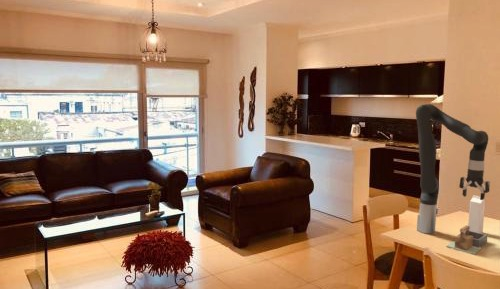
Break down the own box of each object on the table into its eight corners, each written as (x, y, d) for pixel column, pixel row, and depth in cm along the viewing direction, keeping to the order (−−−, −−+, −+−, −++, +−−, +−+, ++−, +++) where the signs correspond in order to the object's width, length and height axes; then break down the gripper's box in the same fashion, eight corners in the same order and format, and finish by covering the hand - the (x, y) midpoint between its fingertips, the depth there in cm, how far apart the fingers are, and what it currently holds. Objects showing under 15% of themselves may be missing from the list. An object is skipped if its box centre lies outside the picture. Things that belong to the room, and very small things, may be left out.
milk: (478, 234, 239) (481, 198, 236) (467, 231, 244) (470, 195, 241) (482, 232, 243) (485, 196, 240) (472, 229, 248) (475, 194, 244)
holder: (458, 242, 227) (459, 235, 227) (467, 236, 236) (467, 230, 235) (478, 247, 220) (479, 240, 219) (487, 241, 228) (487, 234, 227)
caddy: (454, 247, 218) (455, 227, 217) (460, 243, 224) (462, 224, 222) (466, 250, 214) (468, 230, 212) (472, 246, 219) (474, 227, 218)
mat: (446, 246, 221) (446, 245, 221) (453, 242, 227) (453, 241, 227) (474, 254, 210) (474, 253, 210) (481, 249, 217) (481, 248, 217)
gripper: (459, 167, 221) (456, 196, 224) (487, 171, 211) (484, 202, 213) (464, 165, 226) (462, 194, 228) (493, 169, 216) (490, 199, 218)
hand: (473, 198), depth 221 cm, fingers open, 8 cm apart
